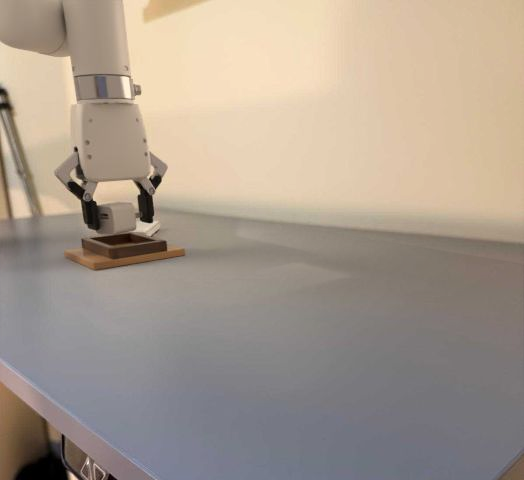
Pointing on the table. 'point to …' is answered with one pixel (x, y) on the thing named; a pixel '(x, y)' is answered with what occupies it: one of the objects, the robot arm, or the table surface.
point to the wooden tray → (121, 250)
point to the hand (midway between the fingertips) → (120, 224)
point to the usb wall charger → (117, 218)
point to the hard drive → (145, 228)
